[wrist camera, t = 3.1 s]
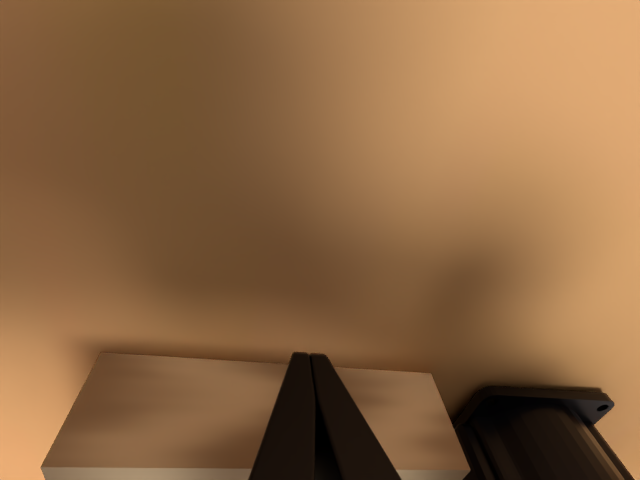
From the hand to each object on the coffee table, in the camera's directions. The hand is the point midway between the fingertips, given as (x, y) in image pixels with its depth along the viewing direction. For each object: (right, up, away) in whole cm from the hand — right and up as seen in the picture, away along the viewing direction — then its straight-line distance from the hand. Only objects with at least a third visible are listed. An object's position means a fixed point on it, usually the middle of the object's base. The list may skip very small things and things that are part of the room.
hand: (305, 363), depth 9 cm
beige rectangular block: (-2, -5, +7) cm, 9 cm away
